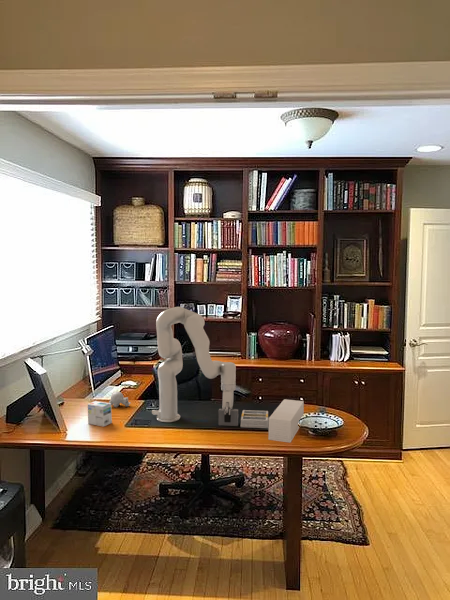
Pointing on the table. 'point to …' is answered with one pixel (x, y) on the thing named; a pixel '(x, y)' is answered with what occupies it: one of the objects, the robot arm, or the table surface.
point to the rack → (254, 419)
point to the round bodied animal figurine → (118, 399)
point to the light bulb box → (99, 413)
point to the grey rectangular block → (285, 420)
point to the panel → (233, 417)
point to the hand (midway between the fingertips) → (228, 418)
